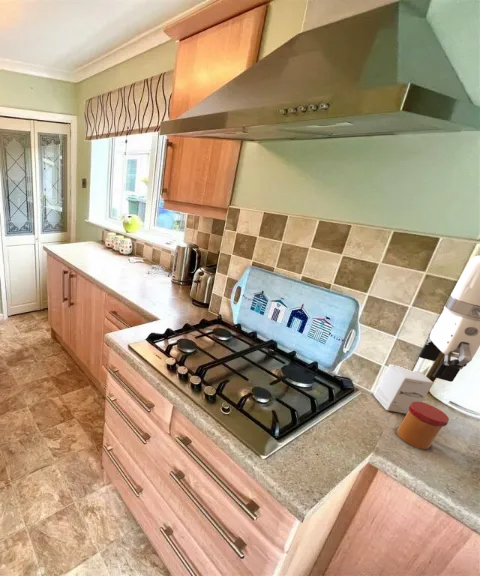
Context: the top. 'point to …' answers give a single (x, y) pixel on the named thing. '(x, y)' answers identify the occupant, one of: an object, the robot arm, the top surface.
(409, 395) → the white packaging box
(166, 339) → the top surface
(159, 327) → the top surface
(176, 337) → the top surface
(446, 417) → the lid
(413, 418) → the jar
